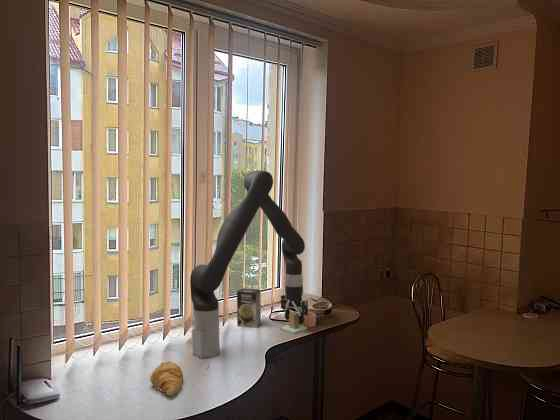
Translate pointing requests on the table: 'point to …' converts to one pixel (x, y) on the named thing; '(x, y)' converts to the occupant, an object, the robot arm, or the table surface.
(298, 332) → the mat
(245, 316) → the coffee box
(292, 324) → the lid
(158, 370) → the croissant
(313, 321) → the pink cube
